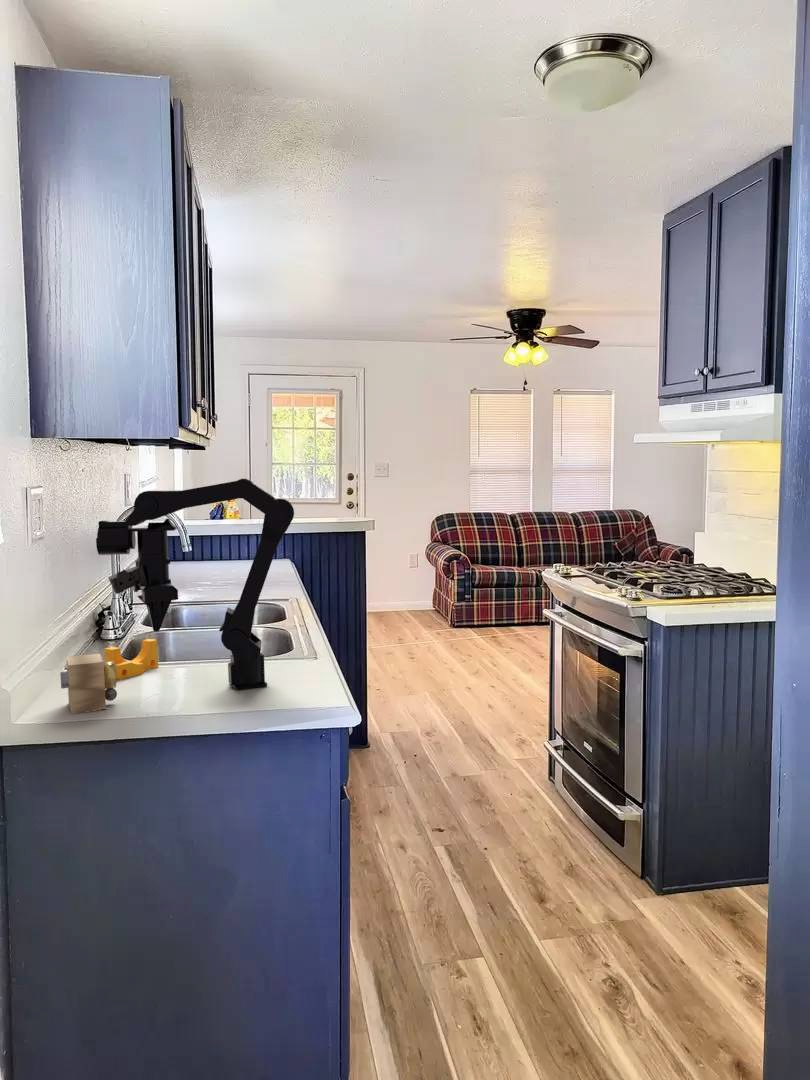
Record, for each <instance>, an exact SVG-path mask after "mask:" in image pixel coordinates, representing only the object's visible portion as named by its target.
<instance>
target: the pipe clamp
mask: <svg viewBox="0 0 810 1080" xmlns="http://www.w3.org/2000/svg"><path fill="white" fill-rule="evenodd" d="M158 649H159V648H158V639H153V638H147V639H144V640H142V643H141V649H140V651H139V653H138V655H137V656H136V657H135V658H133V659H132V660H130V661H127V660H125V658H123V656H122V653H121V648H120V647H116V646H115V647H114V646H111V647H105V648H104V662H112V661H114V662H115V668H116V679H120V680H123V678H124V679H128V678H131V677H136V676H140V675H143V674H144V672H146V671H149V670H150V669H151V670H155V669H158V668H159V656H158V655H159V653H158V651H159V650H158ZM127 677H128V678H127Z"/></svg>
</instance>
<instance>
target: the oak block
mask: <svg viewBox="0 0 810 1080" xmlns="http://www.w3.org/2000/svg"><path fill="white" fill-rule="evenodd" d="M104 662H105V660H104V659H103V657H102V655H101V654H100V653H92V654H81V655H75V656H66V672H68V671H69V688H67V694H68V695H67V697H68V706H70V707H69V709H70V715H74V714H73V713H76V714H82V713H81V712H83V713H88V712H87V711H91V712H95V711H94V710H99V711H102V710H101V709H106V710H107V703H106V701H107V700H106V699H105V690H106V689H105V679H104Z"/></svg>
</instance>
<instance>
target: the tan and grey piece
mask: <svg viewBox="0 0 810 1080" xmlns="http://www.w3.org/2000/svg"><path fill="white" fill-rule="evenodd" d="M59 676H60V688H61V689H68V688H69V671H68V672H67V671H60V672H59ZM104 679H105V700H106V701H108V702H111V701H114V700H115V699H116V698H117V696H118V692H117V690H116V688H117V680H116V668H115V662H114V661H112V662H105V661H104Z"/></svg>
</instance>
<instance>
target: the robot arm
mask: <svg viewBox="0 0 810 1080" xmlns="http://www.w3.org/2000/svg"><path fill="white" fill-rule="evenodd" d="M239 499H243V500H244V501H245V502H247V503H249V504H250V505H251V506H253V507H254V508H256V509H257V510H258V511H260V512H261V513H262V514H264V517H263V524H262V528H261V529H262V530H261V535H260V536H261V537H260V541H259V544H258V547H257V550H256V553H255V554H254V557H253V561H252V564H251V567H250V569H249V571H248V575H247V577H246V580H245V583H244V586H243V589H242V592H241V594H240V598H239V599H238V600H239V601H237V603H236V605H235V607H234V609H233V608H231V607H230V606H229V607H227V608H226V611H225V615H224V620H223V622H222V623H221V624H220V627H219V632H221V635H220V640H221V643H222V645H223V647H224V648H225V649H226V650H229V651H230V652H231V654H230V662H228V663H227V671H228V672H227V674H228V675H227V676H228V683H229V685H230V686H231V687H233V688H234V689H235V690H245V689H254V688H260V687H267V686H268V682H266V674H265V654H263V653H262V652H261V651H262V642H263V641H262V639H260V638H259V637H258V636H257V635H256V634H254V632H252V630H253V624H254V617H255V614H256V607H257V604H258V602H259V599H260V596H261V593H262V590H263V588H264V585H265V581H266V579H267V576H268V573H269V571H270V568H271V565H272V562H273V560H274V556H275V553H276V551H277V547H278V546H279V544H280V542H282V541H281V540H282V539H283V538H284V536H285V533H286V532H287V531H288V529H289V527H290V525H291V523H292V521H293V519H294V516H295V509H294V506H293V504H292V503H291V502H290V501H289V500H287V499H285V498H283V497H277V498H275V496H273V495H271V494H270V493H268V492H266V491H265V490H264V489H262V488H260V487H259V486H258V485H256V484H255V483H254V482H253V481H252V480H251V479H249V478H240V479H238V480H235V481H233V480H232V481H229V482H228V481H227V482H224V483H223V482H222V483H217V484H210V485H206V486H201V487H195V488H187V489H183V490H180V489H179V490H175V489H173V490H172V489H169V490H168V489H167V490H163V489H162V490H159V489H158V490H157V489H155V490H154V489H153V490H145V491H142V492H139V494H138V495H137V496H136V498H135V500H134V502H133V507H134V509H133V510H132V512H131V513H130V514H129V515H128V516H127V518H126V520H117V521H116V520H115V521H114V520H113V521H111V520H99V521H98V528H97V535H96V539H95V541H96V542H95V543H96V544H95V545H96V551H97V554H98V556H114V555H115V556H116V555H117V556H119V555H130V553H131V550H135V549H136V545H137V554H138V555H137V557H138V558H136V560H135V566H133V567H130V568H127V569H122V570H121V571H116V573H115V574H112V575H110V576H109V577H108V581H109V583H110V586H111V587H112V589H113V592H114V593H115V594H116V595H118V594H121V593H124V591H126V590H128V589H130V588H132V590H133V591H132V592H134V593H138V592H139V591H141V594H140V595H137V598H138V599H139V600H140V601H141V602H142V603H143V604H145V606H146V609H147V612H148V616H149V620H150V624H151V628H152V631H153V632H154V633H156V632H160V631H161V627H162V626H163V622H164V620H165V617H166V615H167V613H168V610H169V607H170V605H171V603H172V601H178V600H179V589H177V588H176V587H175V586H174V585H173V584H172V579H171V578H170V570H169V565H171V559H170V558H169V547H168V545H169V544H168V543H169V542H168V531H169V532H170V531H176V530H177V529H178V525H176V524H174V523H173V522H172V521H171V519H170V518H168V517H167V518H166V519H165V520H164V521H162V522H159V521H158V522H156V521H155V522H148V524H147V527H135V526H138V525H141V524H143V523H144V522H146V521H153V520H157V519H159V518H162V517H165V516H167V515H170V514H173V513H175V512H178V511H181V510H184V509H188V508H193V507H199V506H203V505H204V506H205V505H210V504H211V505H212V504H215V503H222V502H227V501H232V500H239ZM136 535H137V536H136ZM136 537H137V539H136ZM136 540H137V542H136ZM136 543H137V544H136ZM253 687H254V688H253Z"/></svg>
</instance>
